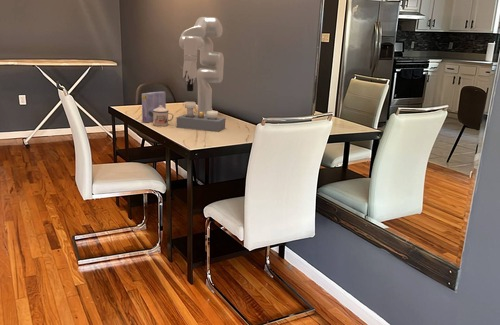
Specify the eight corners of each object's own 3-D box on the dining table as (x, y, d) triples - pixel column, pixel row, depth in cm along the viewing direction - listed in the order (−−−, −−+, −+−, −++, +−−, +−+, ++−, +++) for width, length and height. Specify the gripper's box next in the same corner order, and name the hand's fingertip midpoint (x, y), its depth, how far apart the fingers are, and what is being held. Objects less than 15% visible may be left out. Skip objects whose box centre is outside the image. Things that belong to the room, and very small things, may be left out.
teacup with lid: (153, 126, 269) (153, 106, 266) (152, 123, 278) (152, 104, 275) (174, 126, 273) (174, 106, 269) (172, 123, 281) (172, 104, 278)
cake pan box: (161, 118, 297) (160, 90, 292) (167, 118, 295) (167, 91, 290) (141, 122, 280) (140, 93, 275) (147, 123, 278) (147, 94, 273)
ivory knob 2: (209, 125, 273) (209, 110, 271) (219, 126, 272) (219, 111, 269) (204, 127, 268) (205, 111, 265) (215, 128, 266) (215, 112, 263)
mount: (185, 123, 281) (185, 114, 279) (225, 128, 274) (225, 118, 272) (176, 127, 270) (176, 117, 268) (218, 131, 263) (218, 121, 261)
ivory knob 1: (187, 116, 276) (187, 101, 274) (197, 117, 274) (197, 102, 272) (182, 117, 270) (182, 102, 268) (192, 118, 268) (193, 103, 266)
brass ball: (199, 117, 272) (199, 111, 271) (205, 117, 271) (205, 111, 270) (197, 117, 269) (197, 112, 268) (202, 118, 268) (202, 112, 267)
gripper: (189, 58, 271) (189, 89, 276) (178, 58, 257) (178, 91, 262) (201, 58, 269) (201, 90, 274) (191, 59, 255) (190, 92, 260)
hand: (190, 90), depth 268 cm, fingers closed
